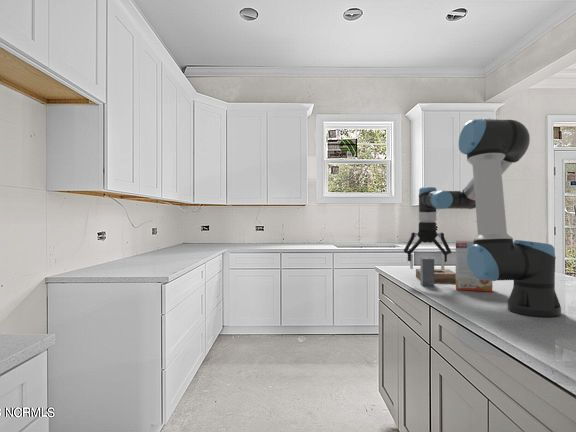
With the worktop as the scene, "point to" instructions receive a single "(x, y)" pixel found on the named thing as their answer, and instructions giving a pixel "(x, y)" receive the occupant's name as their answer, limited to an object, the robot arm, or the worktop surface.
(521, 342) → the worktop surface
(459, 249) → the cracker box
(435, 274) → the socket plate
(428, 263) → the peg
